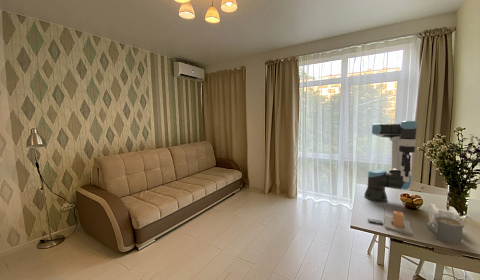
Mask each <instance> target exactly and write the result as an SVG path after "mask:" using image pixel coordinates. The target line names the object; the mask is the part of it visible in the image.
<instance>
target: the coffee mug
mask: <svg viewBox="0 0 480 280" xmlns="http://www.w3.org/2000/svg"><path fill="white" fill-rule="evenodd" d="M432 224H434V225H435V228H431V227H432ZM426 228H427V230H428V231H430V232H431V233H433V236H434V237H435V238H437V239H438V240H440V241H442V242H445V243H447V244H451V245H452V244H453V245H461V244H462V238H463V237H462V236H463V228H464V223H462V222H461V220H459V221H458V220H455V219H452V218H449V217H443V216H437V217H436V218H435V221H430V220H428V222H427V223H426Z"/></svg>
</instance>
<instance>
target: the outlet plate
mask: <svg viewBox="0 0 480 280" xmlns="http://www.w3.org/2000/svg"><path fill="white" fill-rule="evenodd" d="M384 224H385V226H384V227H385V229H386V230H390V231H392V232H393V231H394V232H398V233H402V234H405V235H409V236H413V233H414V232H413V230H412V227H411V224H410V221H409V220H406V219H403V228H401V227H397V226H393V216H390V215H389V216H388V215H384Z"/></svg>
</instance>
